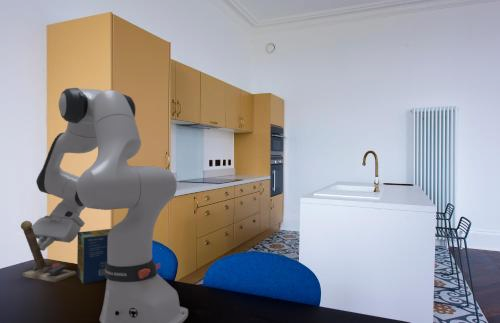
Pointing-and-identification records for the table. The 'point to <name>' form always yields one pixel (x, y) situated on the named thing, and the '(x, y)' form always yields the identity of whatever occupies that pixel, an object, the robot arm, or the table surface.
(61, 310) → the table surface
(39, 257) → the lever
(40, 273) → the board
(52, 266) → the button
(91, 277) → the protein box
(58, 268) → the block
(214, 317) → the table surface
